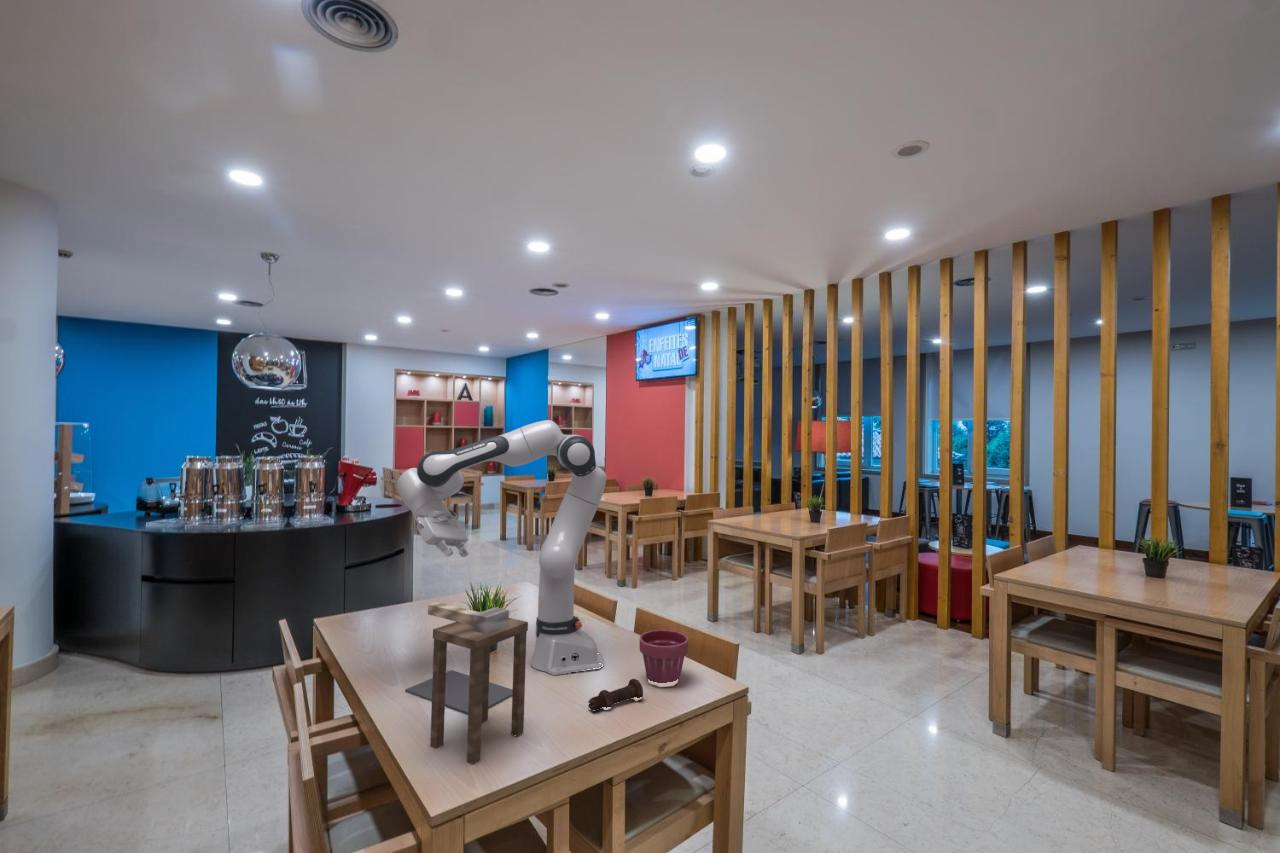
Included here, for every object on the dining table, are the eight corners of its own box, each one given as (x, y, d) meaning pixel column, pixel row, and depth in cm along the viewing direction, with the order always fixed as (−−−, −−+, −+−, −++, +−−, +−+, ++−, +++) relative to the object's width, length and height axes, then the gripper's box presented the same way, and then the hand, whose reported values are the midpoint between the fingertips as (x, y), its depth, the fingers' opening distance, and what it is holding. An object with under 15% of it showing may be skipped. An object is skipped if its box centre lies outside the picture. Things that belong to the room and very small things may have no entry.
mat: (405, 691, 154) (405, 689, 154) (451, 672, 168) (451, 670, 168) (473, 716, 141) (473, 714, 141) (517, 693, 155) (517, 691, 155)
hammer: (420, 616, 137) (420, 601, 137) (443, 609, 143) (444, 595, 143) (486, 633, 126) (486, 617, 126) (508, 625, 132) (508, 609, 132)
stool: (428, 746, 127) (433, 629, 128) (481, 717, 141) (485, 612, 142) (473, 765, 120) (477, 641, 121) (524, 733, 134) (528, 622, 135)
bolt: (589, 718, 146) (636, 702, 154) (598, 715, 142) (645, 699, 151) (583, 695, 148) (630, 680, 157) (591, 691, 144) (639, 676, 153)
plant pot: (656, 696, 155) (657, 649, 156) (629, 678, 167) (630, 634, 167) (697, 685, 163) (698, 640, 163) (668, 668, 175) (669, 626, 175)
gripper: (422, 506, 155) (448, 547, 151) (457, 513, 174) (481, 549, 170) (404, 521, 155) (430, 562, 151) (441, 526, 174) (465, 562, 170)
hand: (457, 555), depth 161 cm, fingers open, 8 cm apart
